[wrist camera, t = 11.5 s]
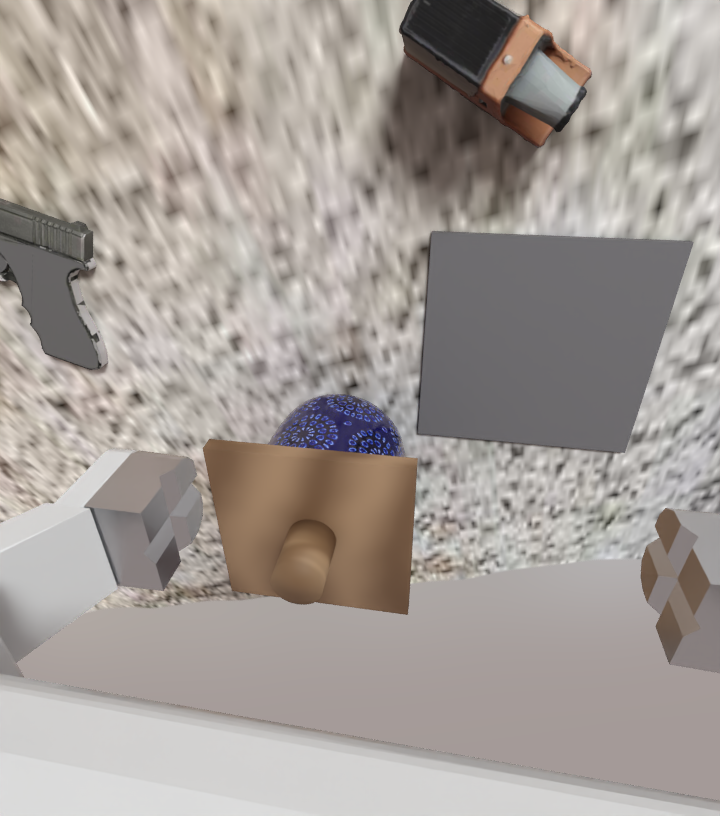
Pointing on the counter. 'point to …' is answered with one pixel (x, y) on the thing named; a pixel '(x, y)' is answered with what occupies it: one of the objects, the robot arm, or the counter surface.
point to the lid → (315, 523)
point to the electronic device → (497, 62)
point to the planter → (340, 427)
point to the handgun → (52, 281)
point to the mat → (543, 335)
